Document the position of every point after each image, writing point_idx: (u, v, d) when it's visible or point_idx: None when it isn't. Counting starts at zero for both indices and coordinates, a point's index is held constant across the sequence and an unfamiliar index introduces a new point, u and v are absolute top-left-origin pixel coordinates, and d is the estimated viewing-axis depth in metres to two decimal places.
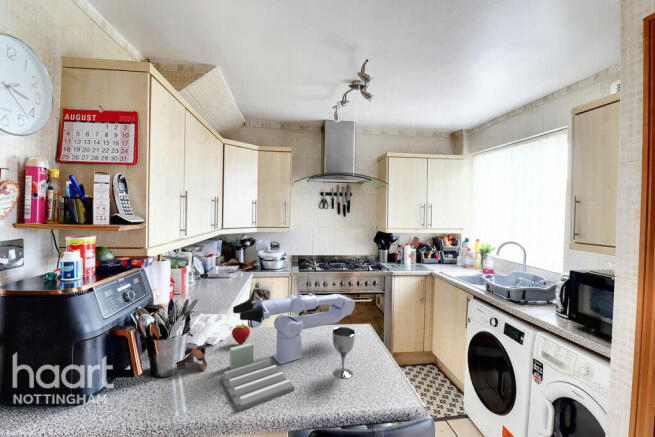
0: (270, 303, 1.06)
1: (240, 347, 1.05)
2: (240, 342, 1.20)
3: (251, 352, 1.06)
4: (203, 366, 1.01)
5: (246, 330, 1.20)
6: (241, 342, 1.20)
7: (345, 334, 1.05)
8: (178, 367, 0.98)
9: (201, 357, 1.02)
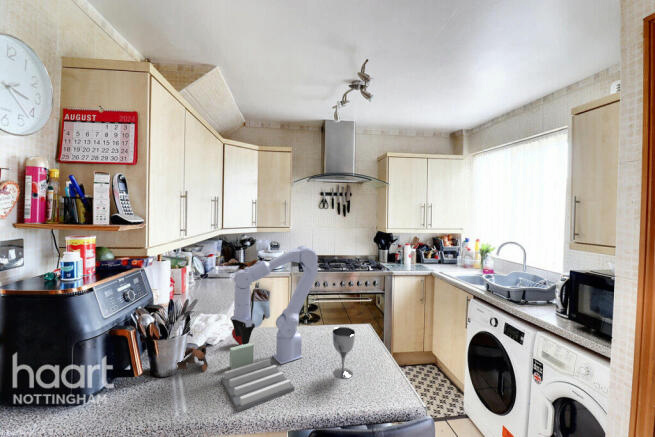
0: (237, 310, 1.02)
1: (240, 347, 1.05)
2: (240, 342, 1.20)
3: (251, 352, 1.06)
4: (204, 366, 1.01)
5: None
6: (241, 342, 1.20)
7: (345, 334, 1.05)
8: (179, 367, 0.98)
9: (202, 357, 1.02)
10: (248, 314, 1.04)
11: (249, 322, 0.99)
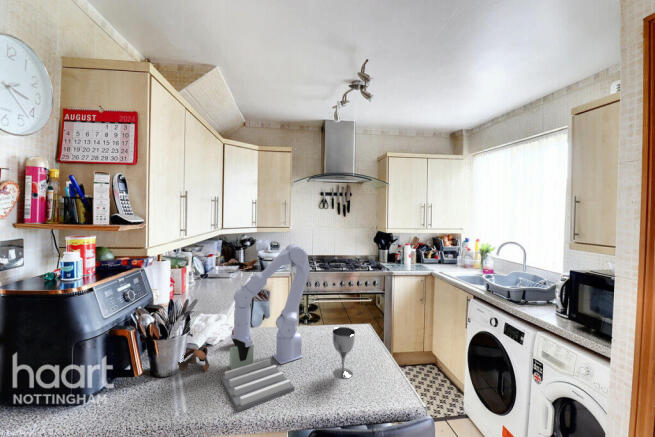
0: (237, 329, 1.03)
1: None
2: None
3: (251, 352, 1.06)
4: (206, 367, 1.01)
5: None
6: None
7: (345, 334, 1.05)
8: (180, 368, 0.98)
9: (203, 358, 1.01)
10: (248, 333, 1.04)
11: (249, 342, 1.00)
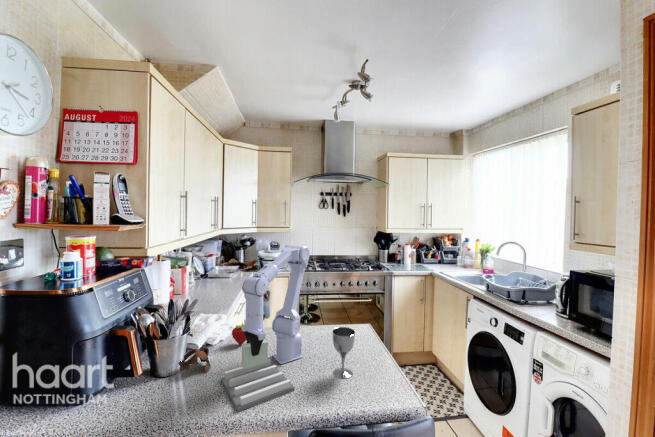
0: (249, 321, 0.93)
1: None
2: (240, 342, 1.20)
3: (265, 350, 0.97)
4: (207, 367, 1.01)
5: None
6: (241, 342, 1.20)
7: (345, 334, 1.05)
8: (182, 368, 0.97)
9: (205, 358, 1.01)
10: (261, 325, 0.94)
11: (262, 335, 0.89)
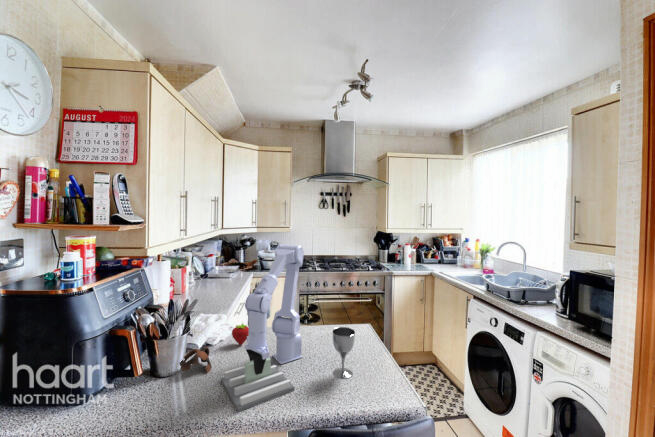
0: (252, 339, 0.90)
1: None
2: (240, 342, 1.20)
3: (268, 367, 0.94)
4: (208, 367, 1.01)
5: (246, 330, 1.20)
6: (241, 342, 1.20)
7: (345, 334, 1.05)
8: (183, 369, 0.97)
9: (206, 358, 1.01)
10: (264, 343, 0.92)
11: (266, 353, 0.87)
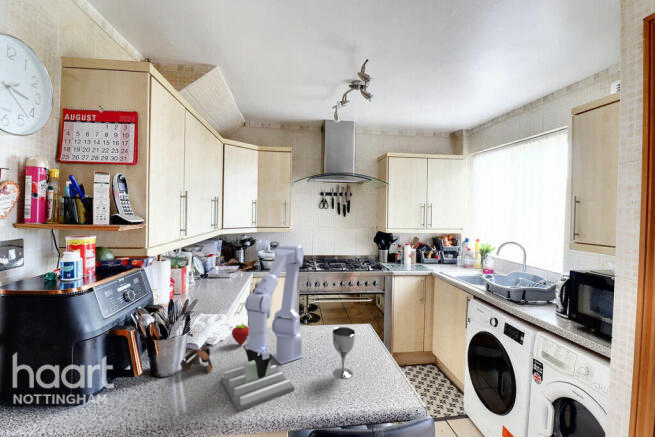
0: (252, 339, 0.90)
1: None
2: (240, 342, 1.20)
3: (268, 367, 0.94)
4: (209, 368, 1.00)
5: (246, 330, 1.20)
6: (241, 342, 1.20)
7: (345, 334, 1.05)
8: (184, 369, 0.97)
9: (207, 359, 1.01)
10: (264, 343, 0.92)
11: (266, 353, 0.87)
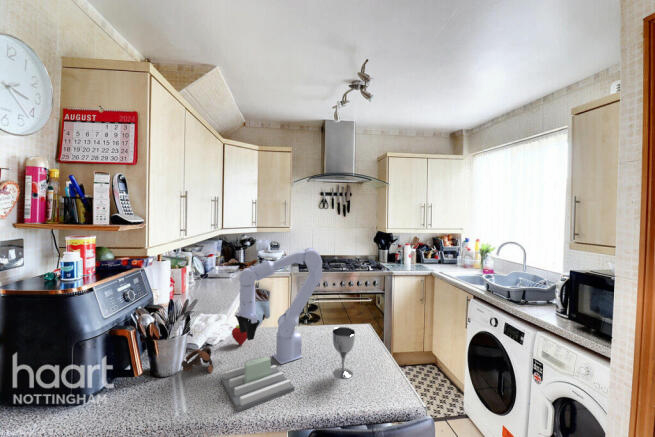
0: (243, 307, 1.06)
1: (256, 362, 0.93)
2: (240, 342, 1.20)
3: (268, 367, 0.94)
4: (210, 368, 1.00)
5: None
6: (241, 342, 1.20)
7: (345, 334, 1.05)
8: (185, 369, 0.97)
9: (208, 359, 1.01)
10: (253, 311, 1.08)
11: (254, 318, 1.03)
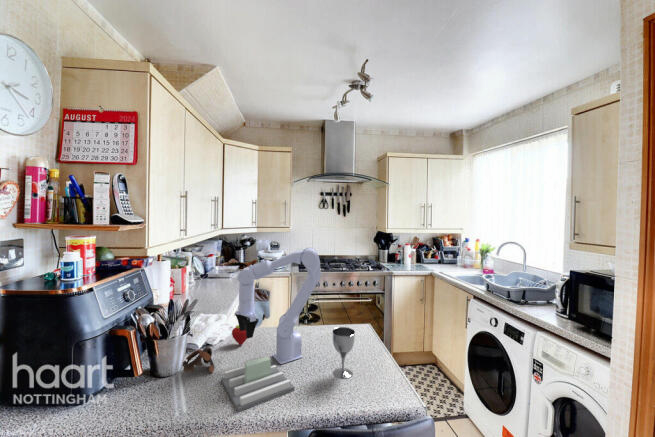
0: (242, 305, 1.07)
1: (256, 362, 0.93)
2: (240, 342, 1.20)
3: (268, 367, 0.94)
4: (211, 368, 1.00)
5: None
6: (241, 342, 1.20)
7: (345, 334, 1.05)
8: (186, 370, 0.97)
9: (209, 359, 1.00)
10: (252, 309, 1.09)
11: (253, 317, 1.04)
